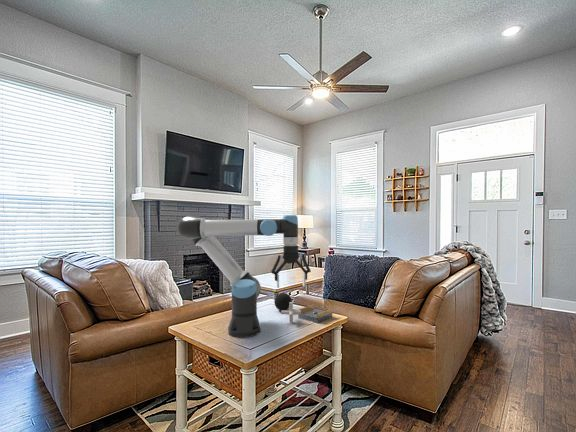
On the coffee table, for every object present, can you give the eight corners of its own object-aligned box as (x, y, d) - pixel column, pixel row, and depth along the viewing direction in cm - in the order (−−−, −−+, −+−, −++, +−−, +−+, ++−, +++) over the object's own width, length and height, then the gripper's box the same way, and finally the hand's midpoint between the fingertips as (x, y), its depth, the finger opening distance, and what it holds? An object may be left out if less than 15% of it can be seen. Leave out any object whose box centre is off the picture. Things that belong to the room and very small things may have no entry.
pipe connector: (301, 325, 157) (301, 305, 157) (281, 325, 157) (280, 305, 157) (300, 319, 167) (300, 300, 167) (281, 319, 167) (281, 300, 167)
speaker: (282, 314, 175) (281, 296, 175) (271, 310, 183) (270, 293, 183) (295, 310, 182) (295, 293, 182) (284, 307, 189) (284, 290, 190)
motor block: (318, 323, 160) (317, 314, 160) (298, 318, 169) (298, 309, 169) (332, 317, 170) (332, 308, 170) (312, 312, 178) (312, 304, 178)
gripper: (267, 246, 156) (267, 289, 156) (316, 245, 160) (316, 287, 160) (265, 245, 164) (266, 286, 164) (312, 244, 168) (313, 284, 168)
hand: (291, 286), depth 162 cm, fingers open, 13 cm apart
